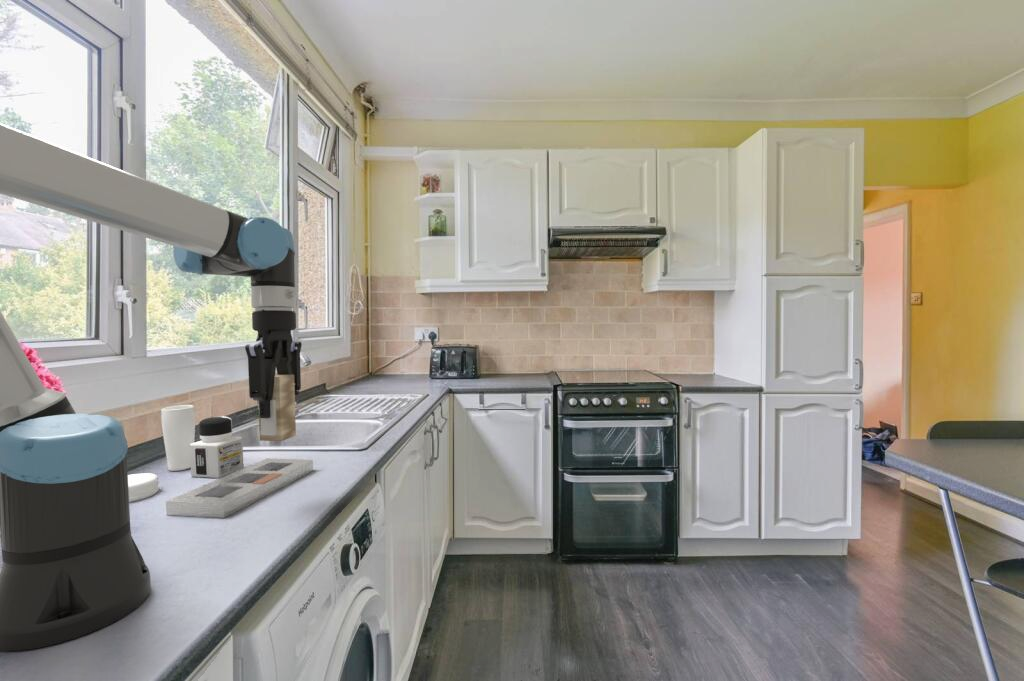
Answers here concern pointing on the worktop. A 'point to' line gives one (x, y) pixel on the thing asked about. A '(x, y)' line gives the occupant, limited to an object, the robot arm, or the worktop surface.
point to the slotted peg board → (238, 488)
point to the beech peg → (283, 409)
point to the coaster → (142, 486)
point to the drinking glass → (178, 435)
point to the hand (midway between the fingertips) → (277, 431)
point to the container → (216, 449)
